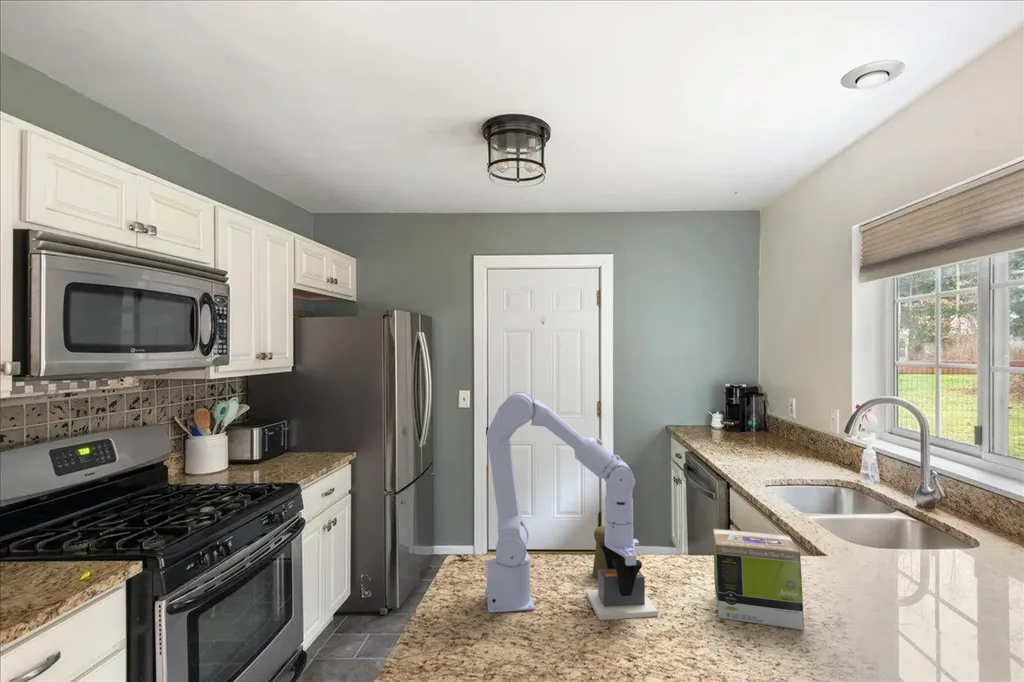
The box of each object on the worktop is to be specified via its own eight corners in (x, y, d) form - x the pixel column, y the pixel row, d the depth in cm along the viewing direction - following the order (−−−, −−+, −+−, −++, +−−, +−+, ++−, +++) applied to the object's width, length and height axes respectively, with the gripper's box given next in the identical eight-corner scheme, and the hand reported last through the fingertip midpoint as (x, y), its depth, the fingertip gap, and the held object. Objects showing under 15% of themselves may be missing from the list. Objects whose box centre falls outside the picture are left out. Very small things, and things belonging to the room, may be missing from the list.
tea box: (792, 606, 100) (791, 533, 101) (804, 632, 91) (802, 552, 91) (713, 595, 105) (712, 526, 106) (717, 619, 96) (715, 543, 96)
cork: (618, 581, 112) (618, 533, 112) (592, 579, 113) (591, 531, 113) (618, 570, 118) (617, 524, 118) (593, 568, 119) (592, 522, 119)
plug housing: (604, 606, 99) (603, 577, 99) (598, 595, 103) (598, 568, 103) (644, 604, 100) (644, 576, 100) (637, 593, 104) (636, 566, 104)
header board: (599, 620, 96) (598, 602, 96) (586, 595, 106) (586, 578, 106) (658, 616, 97) (657, 598, 97) (639, 591, 107) (639, 575, 107)
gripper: (651, 531, 95) (651, 602, 95) (626, 508, 109) (626, 569, 109) (615, 533, 94) (616, 604, 94) (595, 509, 109) (596, 571, 108)
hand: (619, 586), depth 101 cm, fingers open, 7 cm apart
